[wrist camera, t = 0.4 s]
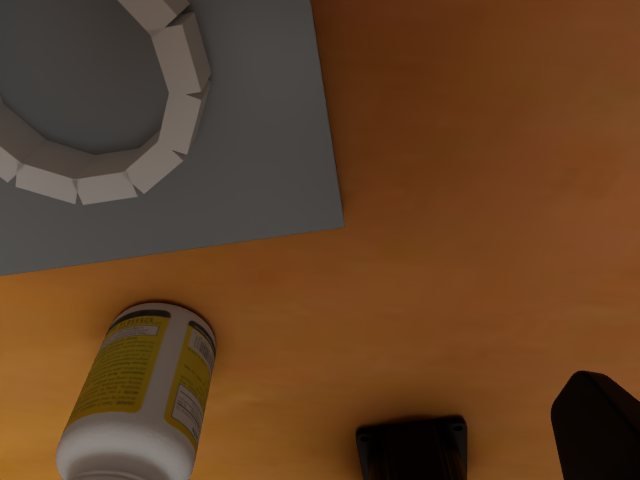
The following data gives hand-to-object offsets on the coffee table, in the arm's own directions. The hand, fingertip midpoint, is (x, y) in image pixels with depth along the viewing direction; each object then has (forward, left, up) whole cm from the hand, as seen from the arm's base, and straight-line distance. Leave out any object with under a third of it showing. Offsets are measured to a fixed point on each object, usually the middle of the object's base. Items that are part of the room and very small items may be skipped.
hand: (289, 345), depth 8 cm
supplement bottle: (-12, +9, -14) cm, 21 cm away
